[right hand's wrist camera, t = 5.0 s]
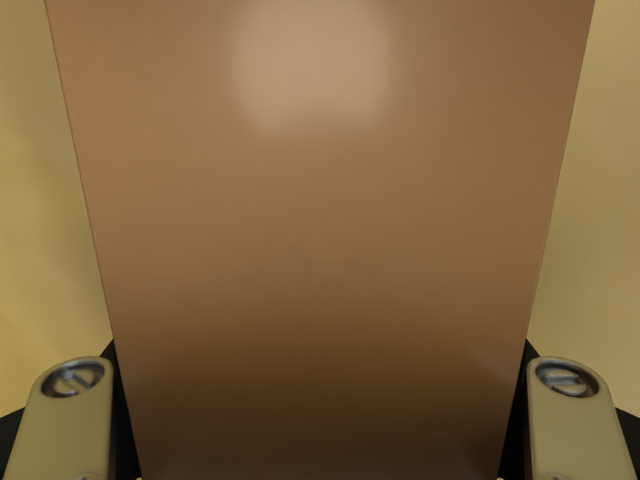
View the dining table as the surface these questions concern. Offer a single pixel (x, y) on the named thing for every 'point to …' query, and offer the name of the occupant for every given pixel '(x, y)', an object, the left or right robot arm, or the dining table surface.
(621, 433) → the right robot arm
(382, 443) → the post
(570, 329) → the dining table surface
